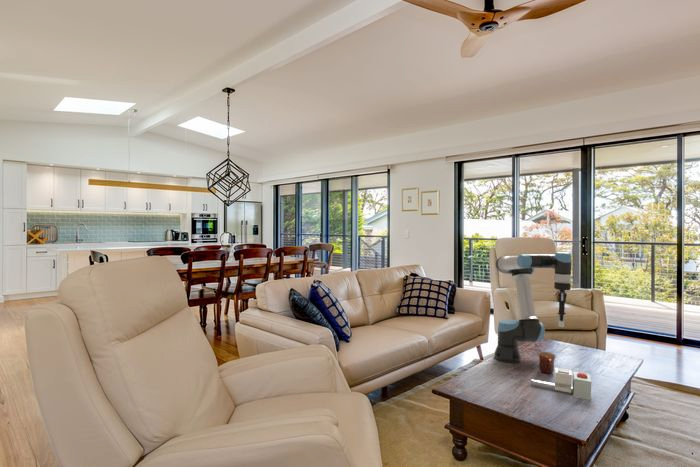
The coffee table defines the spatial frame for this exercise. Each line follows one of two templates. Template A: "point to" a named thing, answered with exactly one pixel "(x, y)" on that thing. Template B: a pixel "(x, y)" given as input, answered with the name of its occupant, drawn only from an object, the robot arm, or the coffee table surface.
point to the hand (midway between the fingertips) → (561, 326)
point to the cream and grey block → (563, 379)
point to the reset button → (582, 375)
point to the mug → (546, 362)
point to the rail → (546, 385)
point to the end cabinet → (582, 386)
